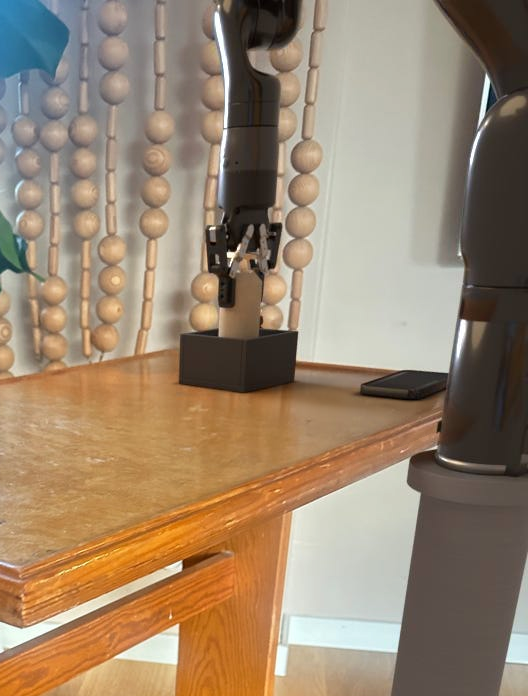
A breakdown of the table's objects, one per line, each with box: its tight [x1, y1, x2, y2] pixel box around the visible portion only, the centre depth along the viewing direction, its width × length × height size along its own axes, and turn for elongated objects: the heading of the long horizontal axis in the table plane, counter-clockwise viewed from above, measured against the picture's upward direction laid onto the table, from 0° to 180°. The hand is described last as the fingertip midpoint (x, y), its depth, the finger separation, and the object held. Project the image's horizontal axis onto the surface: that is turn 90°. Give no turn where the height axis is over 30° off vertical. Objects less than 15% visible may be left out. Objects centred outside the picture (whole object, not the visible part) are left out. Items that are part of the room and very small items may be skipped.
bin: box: [178, 327, 299, 394], centre depth 130 cm, size 12×12×7 cm
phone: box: [359, 369, 449, 400], centre depth 122 cm, size 8×1×15 cm
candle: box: [218, 270, 262, 339], centre depth 127 cm, size 6×6×10 cm
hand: (240, 305), depth 127 cm, fingers closed on candle, 5 cm apart
